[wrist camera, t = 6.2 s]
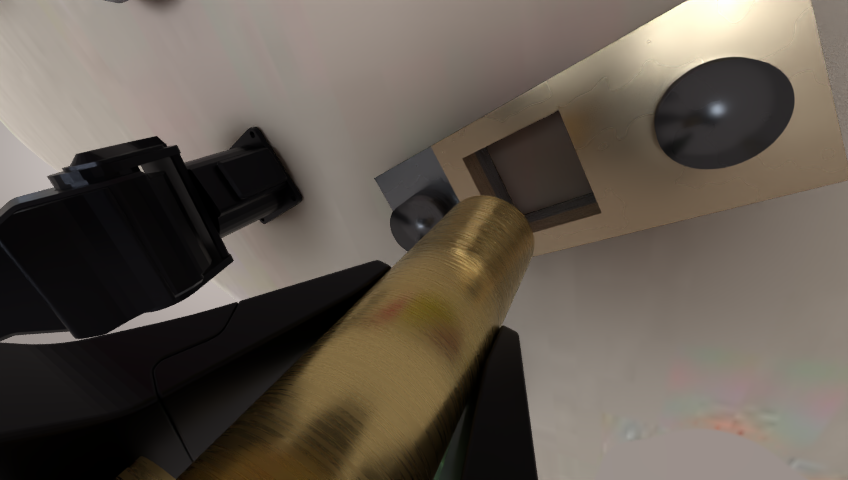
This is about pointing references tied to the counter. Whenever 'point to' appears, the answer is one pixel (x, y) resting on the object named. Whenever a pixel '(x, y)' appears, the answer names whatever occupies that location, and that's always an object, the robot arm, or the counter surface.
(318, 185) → the counter surface
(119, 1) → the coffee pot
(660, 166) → the knobbed window plate
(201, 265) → the robot arm
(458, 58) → the counter surface
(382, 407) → the pin
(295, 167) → the counter surface
